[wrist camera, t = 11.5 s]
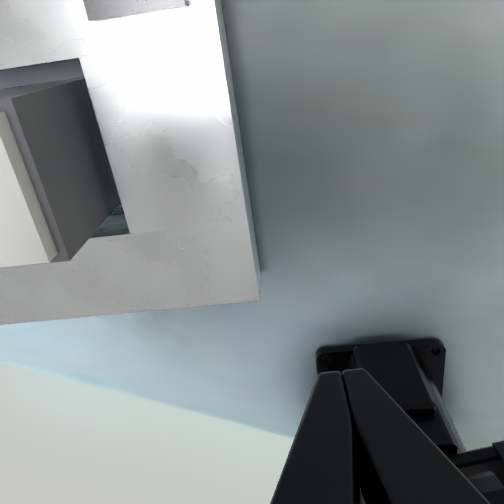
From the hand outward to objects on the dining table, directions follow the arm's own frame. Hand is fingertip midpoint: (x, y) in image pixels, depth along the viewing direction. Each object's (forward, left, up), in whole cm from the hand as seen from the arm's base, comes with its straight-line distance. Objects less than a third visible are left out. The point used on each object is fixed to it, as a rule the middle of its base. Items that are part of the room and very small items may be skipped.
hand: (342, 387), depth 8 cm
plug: (+3, +10, -12) cm, 16 cm away
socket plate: (+3, +9, -12) cm, 15 cm away
